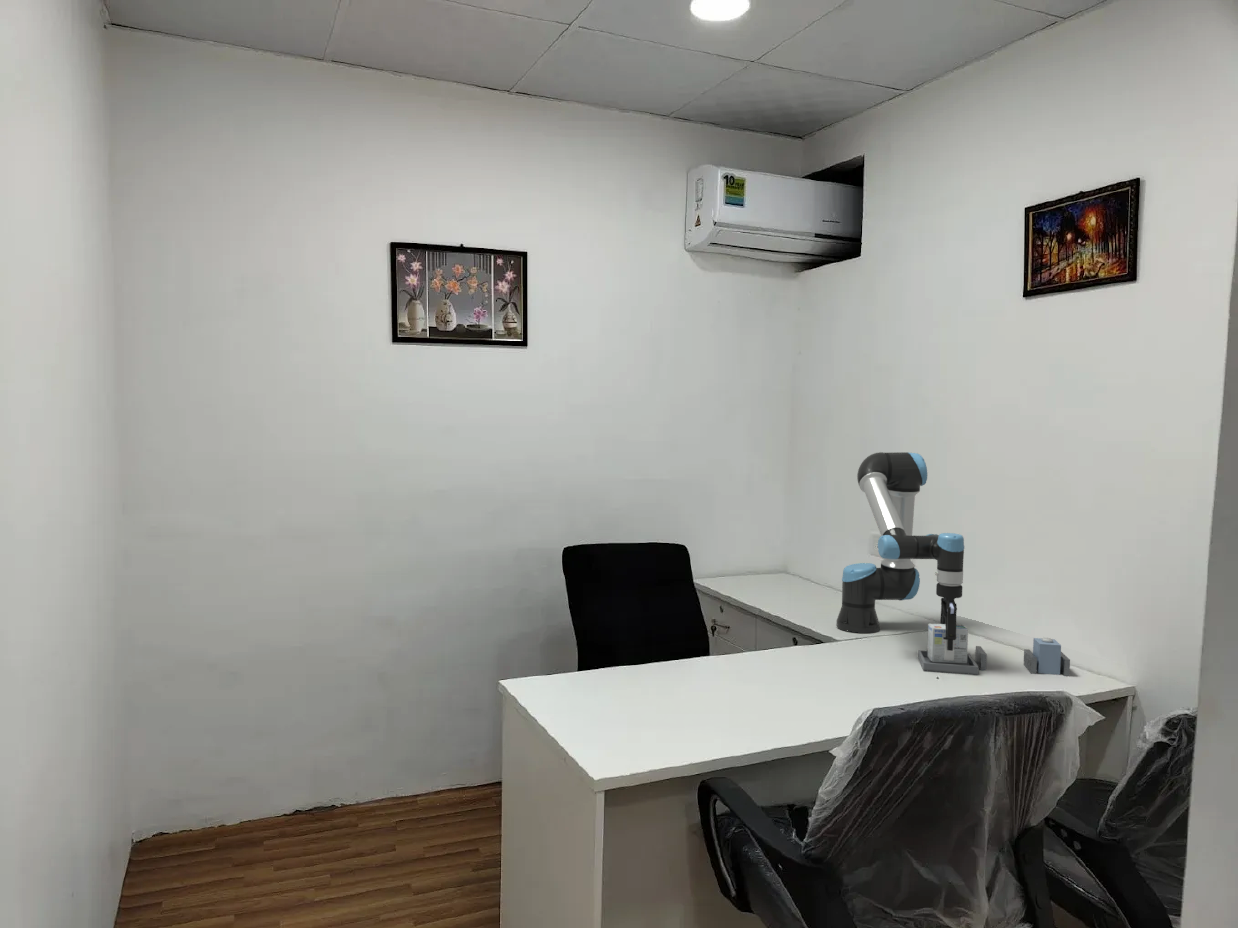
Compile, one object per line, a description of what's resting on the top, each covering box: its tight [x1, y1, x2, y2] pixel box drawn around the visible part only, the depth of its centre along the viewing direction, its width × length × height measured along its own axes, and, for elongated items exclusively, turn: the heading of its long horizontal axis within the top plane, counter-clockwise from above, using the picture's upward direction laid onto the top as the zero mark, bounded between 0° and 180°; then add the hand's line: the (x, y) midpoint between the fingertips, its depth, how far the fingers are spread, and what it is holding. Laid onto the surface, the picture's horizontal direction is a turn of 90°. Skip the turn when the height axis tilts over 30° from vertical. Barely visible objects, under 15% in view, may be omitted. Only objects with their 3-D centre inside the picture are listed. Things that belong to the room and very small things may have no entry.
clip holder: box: [974, 645, 1071, 677], centre depth 259 cm, size 9×25×5 cm, turn 77°
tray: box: [916, 649, 979, 676], centre depth 261 cm, size 15×16×2 cm
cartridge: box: [1032, 637, 1062, 675], centre depth 258 cm, size 7×6×10 cm
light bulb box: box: [927, 623, 969, 663], centre depth 261 cm, size 11×7×11 cm, turn 84°
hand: (946, 656), depth 261 cm, fingers closed on light bulb box, 7 cm apart
